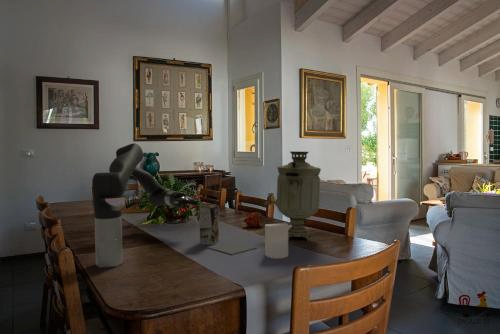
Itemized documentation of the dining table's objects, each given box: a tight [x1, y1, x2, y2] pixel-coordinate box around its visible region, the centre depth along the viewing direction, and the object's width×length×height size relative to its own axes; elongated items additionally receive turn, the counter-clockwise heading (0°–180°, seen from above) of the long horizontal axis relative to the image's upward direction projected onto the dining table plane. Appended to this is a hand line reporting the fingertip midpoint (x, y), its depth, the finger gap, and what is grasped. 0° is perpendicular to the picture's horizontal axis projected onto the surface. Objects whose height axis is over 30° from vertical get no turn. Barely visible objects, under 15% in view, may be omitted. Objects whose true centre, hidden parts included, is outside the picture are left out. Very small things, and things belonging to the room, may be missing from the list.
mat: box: [206, 240, 258, 256], centre depth 161 cm, size 16×14×1 cm
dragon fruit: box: [243, 211, 265, 228], centre depth 206 cm, size 8×8×12 cm
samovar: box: [263, 151, 322, 242], centre depth 180 cm, size 30×26×40 cm
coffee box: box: [199, 204, 220, 246], centre depth 171 cm, size 9×6×16 cm
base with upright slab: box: [264, 222, 289, 259], centre depth 150 cm, size 9×9×12 cm
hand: (196, 202), depth 178 cm, fingers closed
